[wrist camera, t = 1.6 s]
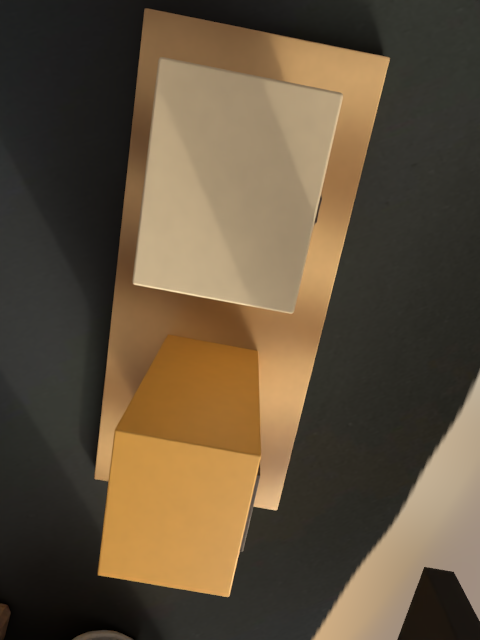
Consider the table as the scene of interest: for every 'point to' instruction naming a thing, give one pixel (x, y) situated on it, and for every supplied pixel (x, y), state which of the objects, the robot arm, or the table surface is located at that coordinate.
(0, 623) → the decorative block
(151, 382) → the orange block
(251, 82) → the tile
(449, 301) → the table surface
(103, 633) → the ceramic mug
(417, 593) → the robot arm
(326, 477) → the table surface
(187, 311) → the word board
